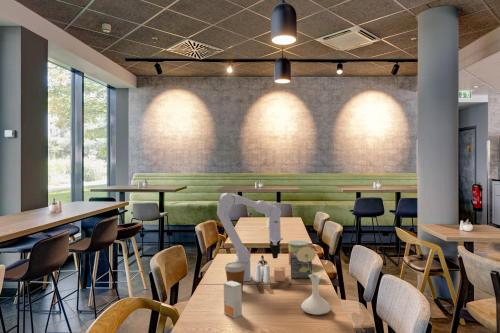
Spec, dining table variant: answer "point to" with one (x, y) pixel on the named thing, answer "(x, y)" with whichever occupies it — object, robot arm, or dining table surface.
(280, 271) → the terracotta cube
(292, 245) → the canned food
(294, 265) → the small box
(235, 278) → the disposable coffee cup
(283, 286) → the walnut block
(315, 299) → the flower in vase
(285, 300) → the dining table surface
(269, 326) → the dining table surface
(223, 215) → the robot arm
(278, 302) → the dining table surface
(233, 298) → the skincare box
